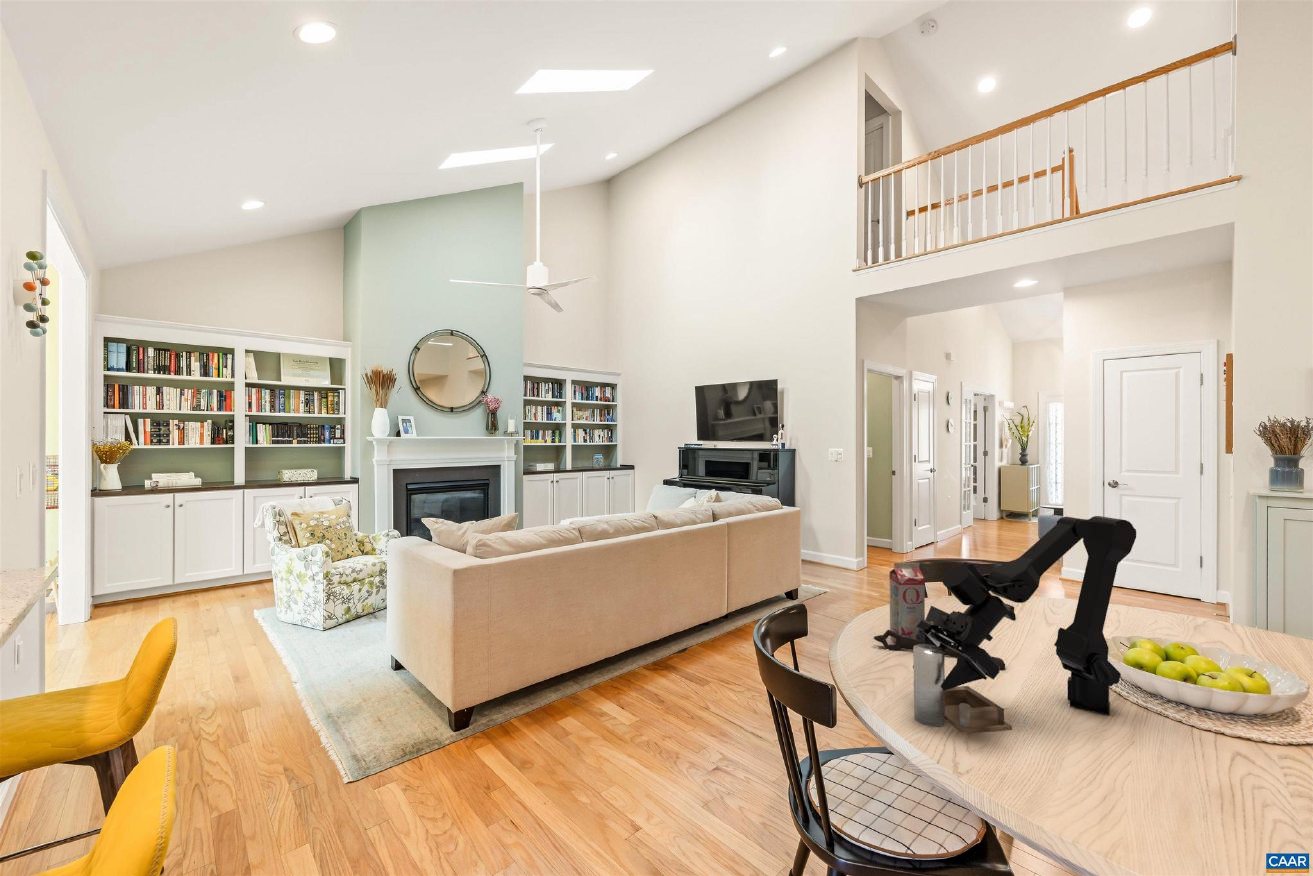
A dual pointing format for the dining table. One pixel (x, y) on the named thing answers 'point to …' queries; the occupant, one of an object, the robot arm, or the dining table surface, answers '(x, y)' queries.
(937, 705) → the grey cylinder
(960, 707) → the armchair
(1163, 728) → the dining table surface
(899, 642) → the wrench
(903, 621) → the juice carton
